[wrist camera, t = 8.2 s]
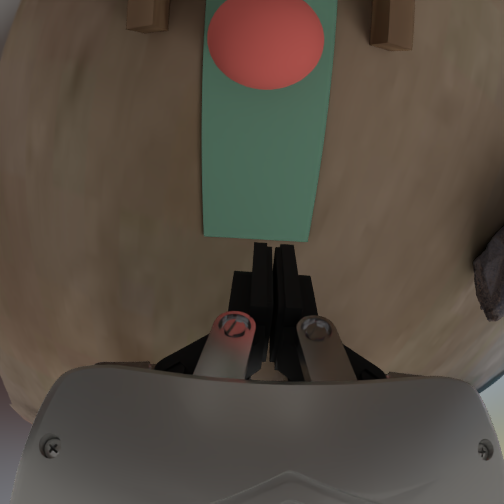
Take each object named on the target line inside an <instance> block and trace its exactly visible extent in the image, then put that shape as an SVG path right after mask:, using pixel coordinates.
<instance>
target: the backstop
mask: <svg viewBox="0 0 504 504" xmlns="http://www.w3.org/2000/svg"><path fill="white" fill-rule="evenodd" d="M169 6H170V0H128V6H127V22H126V29H127V30H132V31H137V32H141V33H151V32H159V31H168V22H169ZM414 12H415V0H372V20H371V34H370V45H371V46H375V47H379V48H382V49H386V50H389V51H408V50H412V46H413V33H414Z"/></svg>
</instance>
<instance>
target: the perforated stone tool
mask: <svg viewBox="0 0 504 504" xmlns="http://www.w3.org/2000/svg"><path fill="white" fill-rule="evenodd" d="M473 265H474V282H475V288H476V296H477V298H478V301H479V302H480V305H481V306H480V309H481V310H482V309H483V310H484V313H485V315H486V317H487V320H488V321H490V322H491V321H498V320H499V319H500V318H502V317H503V316H504V226H503V227H502V228H501V229H500V230H499V231H498V232H497V233H496V234H495V235H494V237H493V238H492V239H491V241H490V242H489V243H488V244H487V247H486V250H485V251H483V253H482V254H481V255H479V257H477V258H476V259H475V260H474V261H473Z"/></svg>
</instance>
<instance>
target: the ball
mask: <svg viewBox="0 0 504 504" xmlns="http://www.w3.org/2000/svg"><path fill="white" fill-rule="evenodd" d="M207 43H208V48H209V52H210V55H211V57H212V59H213V61H214V62H215V64H216V66H217V67H218V68H219V69H220V70H221V71H222V72H223V73H224V74H225V75H226V76H227V77H229V78H230V79H231V80H233V81H235V82H237V83H239V84H241V85H244V86H246V87H250V88H254V89H262V90H273V89H280V88H284V87H287V86H290V85H292V84H295V83H297V82H298V81H300V80H302V79H303V78H305V77H306V76H307V75H308V74H309V73H310V72H311V71H312V70H313V69H314V68H315V66H316V65H317V63H318V61H319V60H320V58H321V55H322V52H323V47H324V32H323V28H322V25H321V22H320V20H319V18H318V16H317V14H316V13H315V12H314V10H313V9H312V8H311V7H310V6H309V5H308V4H307V3H306V2H305V1H303V0H227V1H225V2H224V3H223V4H222V5H221V6H220V7H219V8H218V9H217V11H216V12H215V14H214V15H213V17H212V19H211V21H210V24H209V27H208V33H207Z"/></svg>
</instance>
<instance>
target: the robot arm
mask: <svg viewBox="0 0 504 504" xmlns="http://www.w3.org/2000/svg"><path fill="white" fill-rule="evenodd" d="M269 336H270V362H274V363H275V370H279V371H280V372H281V373H282V374H283V375H285V376H284V381H260V380H251V375H253V374H254V373H256V372H257V371H258V370H260V369H261V363H262V362H266V356H267V349H268V343H269ZM10 504H504V460H503V456H502V452H501V448H500V445H499V441H498V438H497V435H496V432H495V429H494V426H493V423H492V421H491V418H490V415H489V413H488V411H487V408H486V406H485V404H484V402H483V400H482V398H481V397H480V395H479V393H478V392H477V390H476V389H475V388H474V387H473V386H472V385H470V384H469V383H467V382H465V381H462V380H459V379H455V378H451V377H443V376H422V375H412V374H404V373H396V372H389V373H388V374H384V372H383V371H382V370H381V369H379V368H378V367H377V366H375V365H374V364H372V363H371V362H369V361H368V360H366V359H364V358H363V357H361V356H360V355H358V354H357V353H355V352H354V351H352V350H351V349H349V348H348V347H346V346H345V345H343V344H342V341H341V339H340V337H339V334H338V332H337V330H336V327H335V326H334V324H333V323H332V322H331V321H330V320H328V319H326V318H324V317H321V316H318V313H317V308H316V302H315V297H314V292H313V287H312V282H311V277H310V276H305V275H298V270H297V264H296V257H295V251H294V245H286V244H281V245H280V247H276V248H275V255H274V264H273V270H272V247H267V243H257V242H254V255H253V269H252V272H243V271H234V276H233V282H232V289H231V296H230V302H229V309H228V312H225V313H223V314H221V315H219V316H218V317H217V318H216V320H215V321H214V324H213V326H212V329H211V331H210V333H209V334H208V335H206V336H204V337H202V338H201V339H199V340H197V341H195V342H193V343H191V344H190V345H188V346H186V347H184V348H182V349H180V350H179V351H177V352H175V353H173V354H171V355H169V356H167V357H165V358H164V359H162V360H161V361H159V362H158V363H157V364H150V361H144V362H100V363H96V364H95V365H90V366H82V367H78V368H75V369H71V370H69V371H67V372H65V373H64V374H63V375H61V376H60V377H59V378H58V379H57V380H56V382H55V383H54V384H53V386H52V387H51V389H50V391H49V392H48V394H47V396H46V397H45V399H44V401H43V403H42V405H41V407H40V409H39V411H38V414H37V416H36V418H35V420H34V423H33V425H32V428H31V430H30V433H29V436H28V439H27V441H26V444H25V447H24V450H23V453H22V456H21V460H20V463H19V466H18V469H17V473H16V477H15V482H14V486H13V490H12V495H11V500H10Z"/></svg>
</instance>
